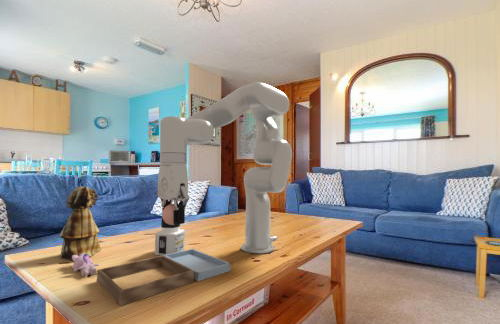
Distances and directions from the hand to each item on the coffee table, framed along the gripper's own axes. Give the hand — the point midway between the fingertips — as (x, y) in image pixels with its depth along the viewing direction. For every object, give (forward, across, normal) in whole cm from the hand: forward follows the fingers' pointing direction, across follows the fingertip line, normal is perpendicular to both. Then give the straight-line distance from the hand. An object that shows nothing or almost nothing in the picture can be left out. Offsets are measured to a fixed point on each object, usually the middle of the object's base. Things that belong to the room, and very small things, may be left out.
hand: (173, 221), depth 76 cm
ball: (+1, 0, 0) cm, 1 cm away
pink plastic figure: (+15, -19, -18) cm, 30 cm away
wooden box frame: (+15, 0, -8) cm, 17 cm away
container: (+15, -18, +9) cm, 26 cm away
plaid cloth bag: (+15, -37, -16) cm, 43 cm away
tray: (+15, 0, +8) cm, 17 cm away
